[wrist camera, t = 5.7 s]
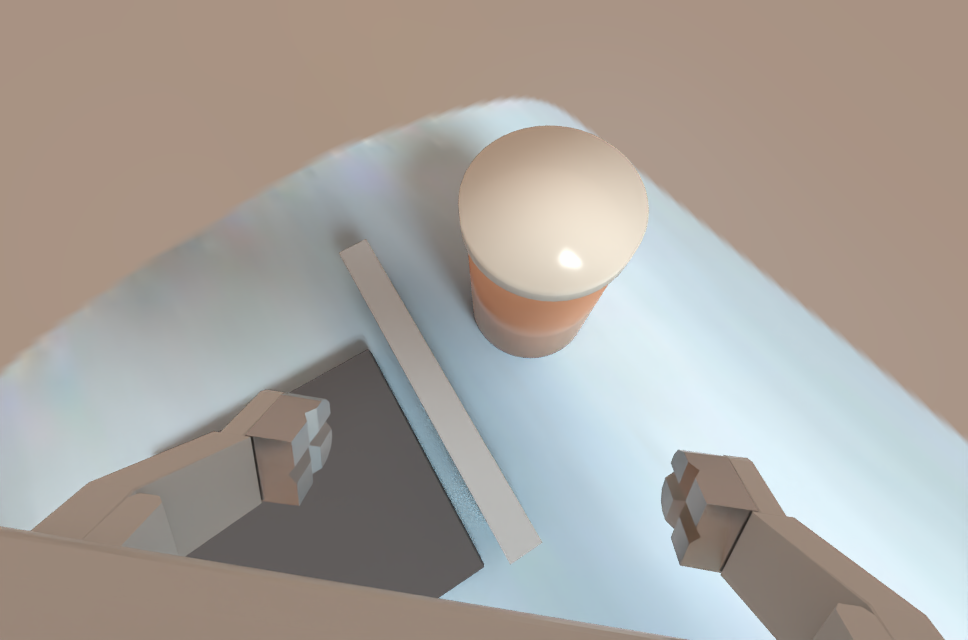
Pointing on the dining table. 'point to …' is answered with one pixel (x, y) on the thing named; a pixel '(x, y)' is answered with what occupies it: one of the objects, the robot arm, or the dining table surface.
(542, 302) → the jar
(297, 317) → the dining table surface
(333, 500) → the plate
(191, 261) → the dining table surface
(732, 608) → the dining table surface
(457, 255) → the dining table surface
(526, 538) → the divider
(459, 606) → the robot arm
